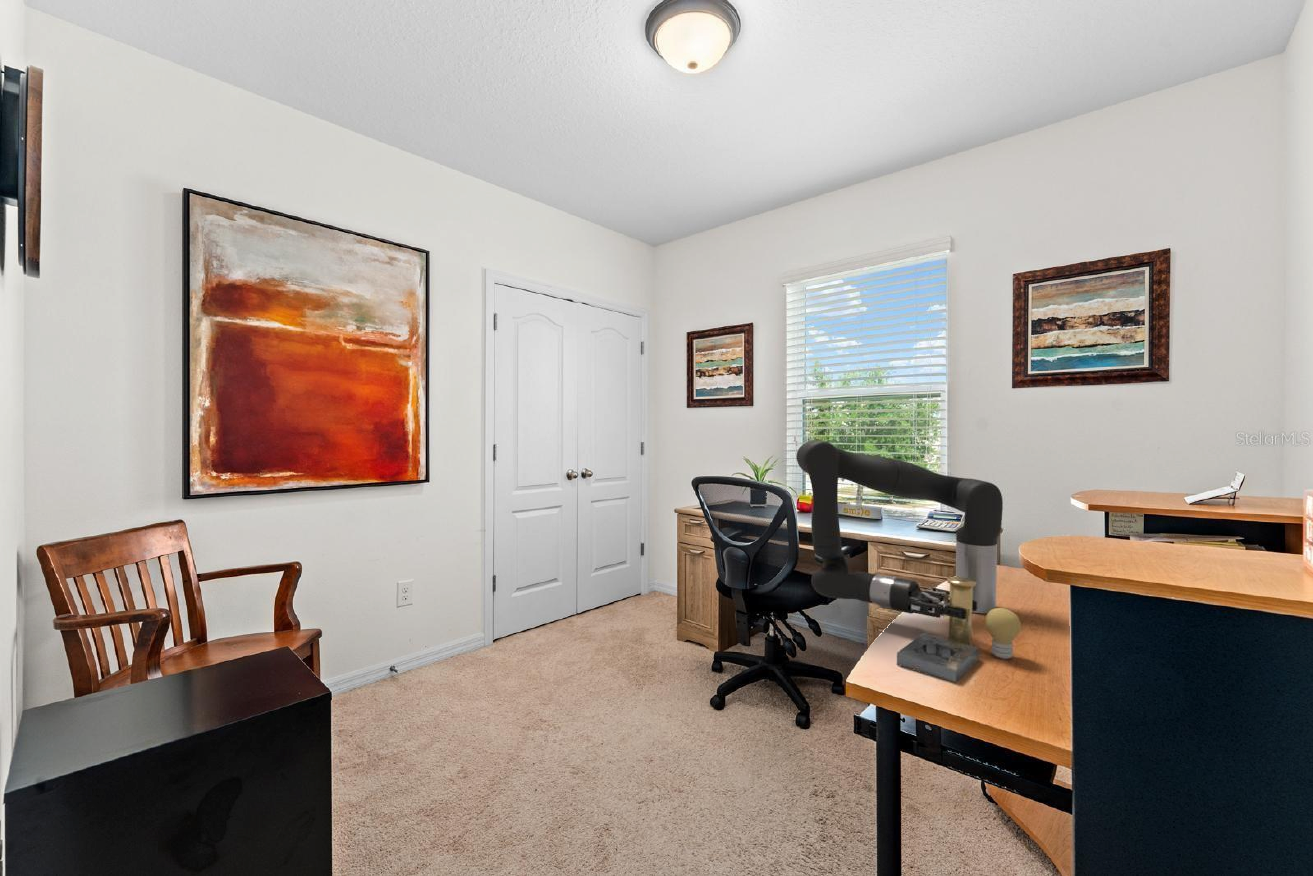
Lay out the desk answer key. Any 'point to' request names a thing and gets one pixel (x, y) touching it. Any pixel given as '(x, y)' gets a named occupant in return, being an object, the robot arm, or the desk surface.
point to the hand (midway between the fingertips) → (971, 610)
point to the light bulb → (1002, 631)
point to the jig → (938, 657)
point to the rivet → (961, 598)
